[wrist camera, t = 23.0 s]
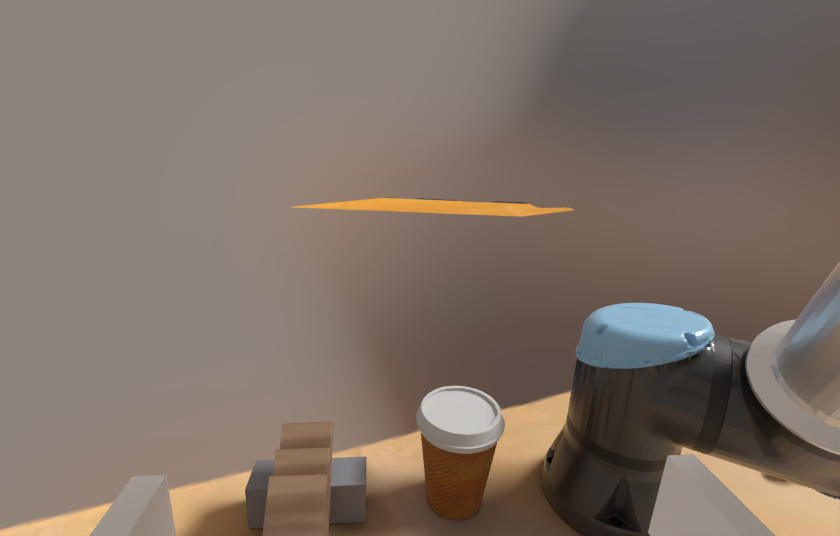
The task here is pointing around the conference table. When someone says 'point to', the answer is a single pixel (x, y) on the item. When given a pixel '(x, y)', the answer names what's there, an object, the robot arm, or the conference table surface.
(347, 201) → the conference table surface
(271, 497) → the walnut domino
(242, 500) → the conference table surface
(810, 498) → the conference table surface
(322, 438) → the walnut domino
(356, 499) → the block
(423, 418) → the disposable coffee cup
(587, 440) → the robot arm
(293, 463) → the walnut domino
